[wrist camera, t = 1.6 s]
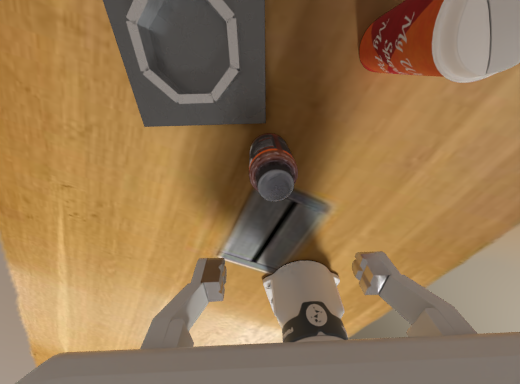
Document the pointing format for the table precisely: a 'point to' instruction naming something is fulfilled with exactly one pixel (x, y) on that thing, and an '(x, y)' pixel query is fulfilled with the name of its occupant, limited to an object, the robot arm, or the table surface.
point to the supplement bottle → (272, 167)
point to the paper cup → (444, 39)
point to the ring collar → (193, 59)
